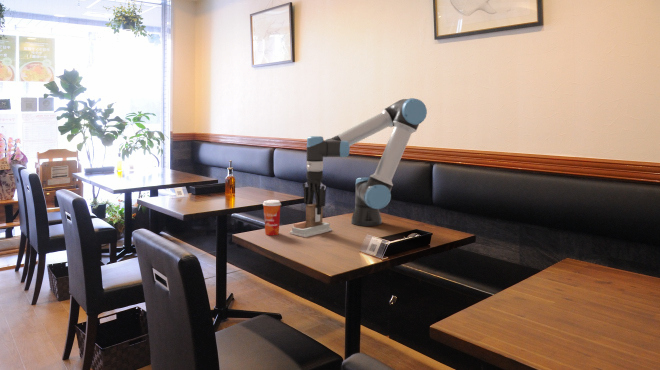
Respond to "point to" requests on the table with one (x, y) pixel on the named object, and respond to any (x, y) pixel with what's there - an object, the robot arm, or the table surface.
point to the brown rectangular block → (312, 216)
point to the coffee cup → (272, 216)
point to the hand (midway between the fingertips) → (314, 220)
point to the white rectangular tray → (309, 229)
